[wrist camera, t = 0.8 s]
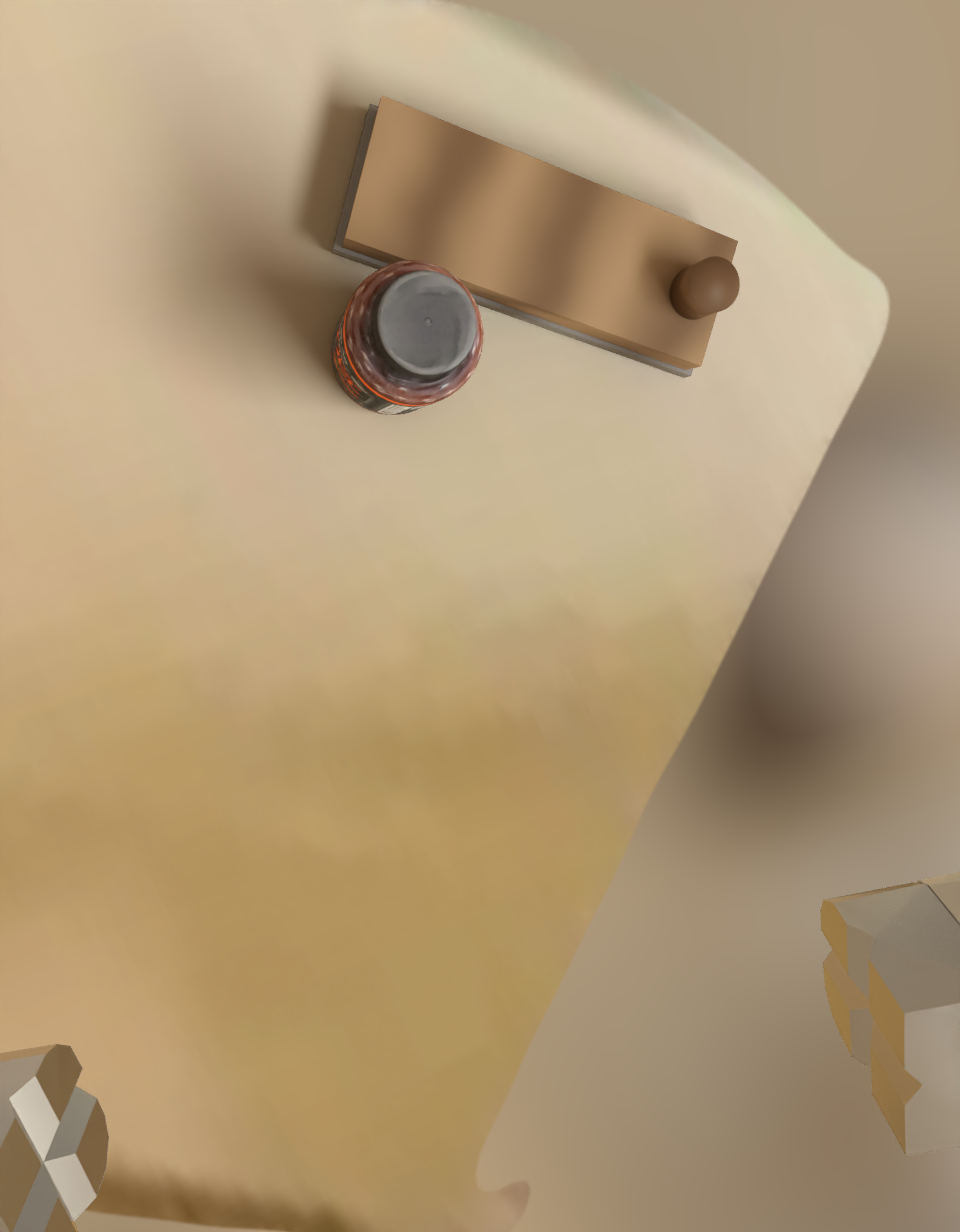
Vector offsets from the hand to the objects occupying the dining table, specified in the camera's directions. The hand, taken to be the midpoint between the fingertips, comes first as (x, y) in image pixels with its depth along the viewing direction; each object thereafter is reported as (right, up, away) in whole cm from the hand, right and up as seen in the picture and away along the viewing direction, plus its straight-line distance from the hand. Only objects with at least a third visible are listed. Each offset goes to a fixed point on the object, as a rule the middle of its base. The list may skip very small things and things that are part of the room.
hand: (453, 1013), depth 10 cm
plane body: (+3, +23, +37) cm, 44 cm away
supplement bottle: (-4, +17, +36) cm, 40 cm away
